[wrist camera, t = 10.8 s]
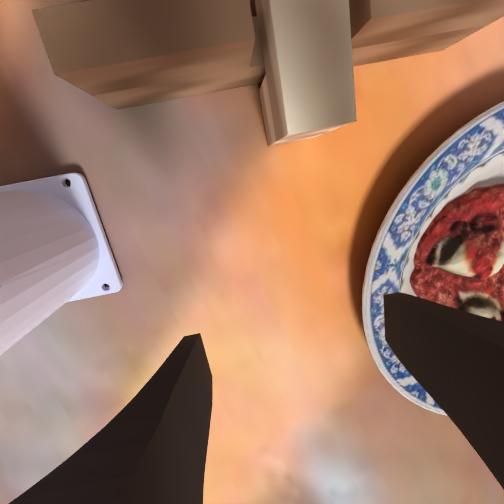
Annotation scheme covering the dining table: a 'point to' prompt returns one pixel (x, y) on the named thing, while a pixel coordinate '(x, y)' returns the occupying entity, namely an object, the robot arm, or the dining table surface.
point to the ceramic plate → (442, 241)
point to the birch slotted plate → (305, 67)
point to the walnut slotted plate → (223, 42)
